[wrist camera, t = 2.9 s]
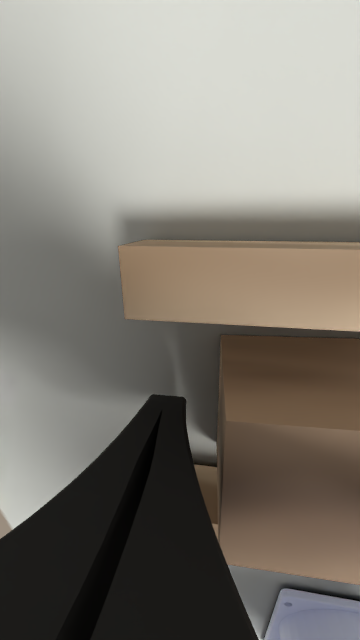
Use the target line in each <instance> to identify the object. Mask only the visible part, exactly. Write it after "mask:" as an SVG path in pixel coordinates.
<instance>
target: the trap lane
mask: <svg viewBox="0 0 360 640" xmlns="http://www.w3.org/2000/svg"><path fill="white" fill-rule="evenodd" d="M118 251H119V262H120V273H121V284H122V294H123V305H124V316H125V319H134V320H152V321H171V322H190V323H208V324H227V325H246V326H264V327H283V328H302V329H320V330H339V331H358V332H360V242H297V241H213V240H141V241H137V242H133V243H129V244H124V245H120V246H118ZM194 467H195V471H196V475H197V478H198V482H199V485H200V489H201V492H202V495H203V498H204V502H205V505H206V508H207V511H208V514H209V517H210V520H211V523H212V525H213V528H214V531H215V534H216V536H217V539H218V496H217V467H211V466H203V465H195V464H194Z"/></svg>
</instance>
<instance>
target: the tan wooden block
mask: <svg viewBox="0 0 360 640" xmlns="http://www.w3.org/2000/svg"><path fill="white" fill-rule="evenodd" d="M217 496H218V542H219V544H220V547H221V549H222V552H223V555H224V557H225V560H226V563H227V564H228V565H234V566H241V567H247V568H254V569H260V570H266V571H273V572H279V573H286V574H292V575H299V576H305V577H311V578H318V579H324V580H331V581H337V582H344V583H350V584H356V585H360V339H352V338H317V337H281V336H246V335H221V343H220V370H219V397H218V425H217Z"/></svg>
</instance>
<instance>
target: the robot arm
mask: <svg viewBox="0 0 360 640" xmlns="http://www.w3.org/2000/svg"><path fill="white" fill-rule="evenodd" d="M0 640H259V639H258V637H257V635H256V633H255V630H254V628H253V626H252V623H251V621H250V619H249V617H248V614H247V612H246V609H245V607H244V605H243V602H242V600H241V597H240V595H239V593H238V590H237V588H236V585H235V583H234V581H233V578H232V576H231V573H230V570H229V568H228V565H227V563H226V560H225V557H224V555H223V552H222V549H221V547H220V544H219V542H218V539H217V536H216V534H215V531H214V528H213V525H212V523H211V520H210V517H209V514H208V511H207V508H206V505H205V502H204V498H203V495H202V492H201V489H200V485H199V482H198V478H197V475H196V471H195V467H194V463H193V459H192V455H191V450H190V445H189V440H188V434H187V428H186V399H185V398H184V397H177V396H166V395H155V394H153V395H151V396H150V397H149V399H148V400H147V401H146V403H145V404H144V405H143V407H142V408H141V409H140V410H139V412H138V413H137V414H136V415H135V417H134V418H133V419H132V420H131V421H130V423H129V424H128V425H127V426H126V427H125V428H124V430H123V431H122V432H121V433H120V434H119V435H118V436H117V438H116V439H115V440H114V441H113V442H112V443H111V444H110V445H109V446H108V447H107V448H106V449H105V450H104V451H103V452H102V453H101V454H100V455H99V457H98V458H97V459H96V460H95V461H93V462H92V463H91V464H90V465H89V466H88V467H87V468H86V469H85V470H84V471H83V472H82V473H81V474H80V475H79V476H78V477H77V478H75V479H74V480H73V481H72V482H71V483H70V484H69V485H68V486H67V487H65V488H64V489H63V490H62V491H61V492H59V493H58V494H57V495H56V496H55V497H54V498H52V499H51V500H50V501H49V502H48V503H47V504H45V505H44V506H43V507H42V508H40V509H39V510H38V511H37V512H35V513H34V514H33V515H32V516H30V517H29V518H28V519H26V520H25V521H24V522H22V523H21V524H20V525H18V526H17V527H16V528H14V529H13V530H12V531H10V532H9V533H8V534H6V535H5V536H4V537H2V538H1V539H0ZM264 640H360V601H355V600H349V599H344V598H338V597H332V596H327V595H321V594H316V593H310V592H305V591H299V590H293V589H287V588H285V589H282V590H281V591H280V593H279V596H278V599H277V602H276V605H275V608H274V611H273V614H272V617H271V620H270V623H269V626H268V629H267V632H266V635H265V638H264Z"/></svg>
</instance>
